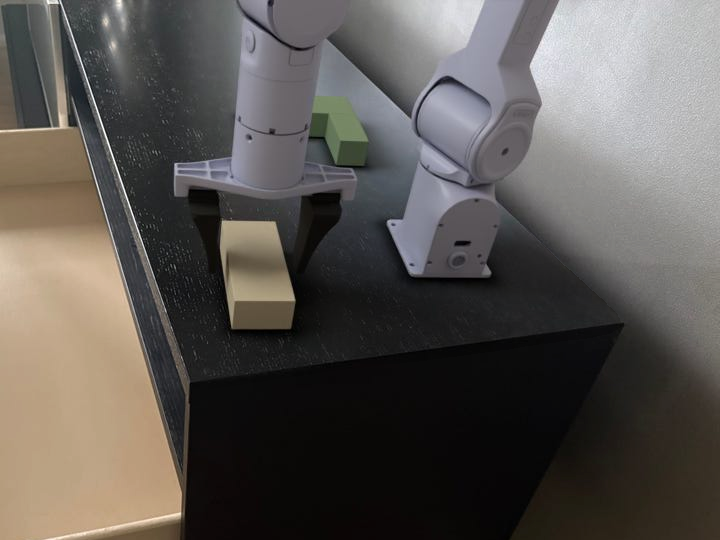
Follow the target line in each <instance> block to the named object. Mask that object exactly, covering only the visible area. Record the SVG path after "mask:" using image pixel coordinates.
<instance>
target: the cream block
mask: <svg viewBox="0 0 720 540" xmlns="http://www.w3.org/2000/svg"><path fill="white" fill-rule="evenodd" d="M220 227H221V230H220V241H219V249H220V250H219V251H220V259H221V265H222V273H223V280H224V285H225V293H226V300H227V306H228V312H229V319H230V325H231V330H291V329H292V326H293V318H294V313H295V306H296V298H295V293H294V289H293V286H292V281H291V277H290V274H289V269H288V266H287V262H286V258H285V254H284V249H283V246H282V242H281V238H280V235H279V230H278V227H277V222H276V221H267V220H265V221H263V220H262V221H261V220H260V221H259V220H221V226H220Z"/></svg>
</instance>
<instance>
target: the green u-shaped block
mask: <svg viewBox="0 0 720 540" xmlns="http://www.w3.org/2000/svg"><path fill="white" fill-rule="evenodd" d="M309 137H318V138H319V137H321V138H324V139H325V141H326V144H327V146H328V149H329V151H330V153H331V156H332V158H333V161H334V164H335V165H336V166H354V167H356V166H358V167H364V166H365V164H366V159H367V154H368V149H369V145H370V141H369V138H368V136H367V134H366V132H365V130H364V128H363V126H362V124H361V121H360V120H359V118H358V116H357V114H356V112H355V110H354V108H353V106H352V104H351V102H350V99H349V98H348V96H337V95H336V96H335V95H315V99H314V105H313V111H312V118H311V124H310V131H309Z"/></svg>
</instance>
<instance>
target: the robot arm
mask: <svg viewBox="0 0 720 540" xmlns="http://www.w3.org/2000/svg"><path fill="white" fill-rule="evenodd" d="M350 2H351V0H233V3H234V5H235V7H236V8H237V10H238V11H239V13H240V16H241V19H242V20H241V21H242V23H241V37H242V38H241V48H240V58H239V67H238V68H239V70H238V82H237V90H236V91H237V92H236V93H237V94H236V105H235V117H234V129H233V139H232V151H231V156H229V157H223V158H215V159H208V160H202V161H194V162H175V163H174V164H173V192H174V193H173V194H174V197H176V198H187V202H188V211H189V214H190V217H191V219H192V221H193V223H194V225H195V227H196V229H197V232H198V234H199V236H200V238H201V239H200V240H201V241H202V245H203V247H204V251H205V257H206V258H205V261H206V262H205V263H206V269H207V273H208V274H217V269H218V238H219V231H220V223H221V218H222V216H221V210H220V197H219V194H221V195H223V194H224V195H241V196H244V197H249V198H255V199H261V200H270V201H274V200H284V199H290V198H295V197H301V199H300V211H299V218H298V219H299V221H298V227H297V232H296V237H295V240H294V241H295V242H294V246H293V252H292V265H293V268H294V271H295V275H304V274H305V271H306V270H307V266H308V264H309V262H310V260H311V258H312V257H313V254H314V253H315V251H316V249H317V248H318V246H319V245H320V243H321V242H322V240H324V238H325V237H326V236H327V235H328V234H329V233H330V231H331V230H332V229H333V228H335V226H336V225H338V223H339V222H340V221H341V217H342V214H343V207H342V206H341V205H342V204H341V201H342V202H354V200H355V197H356V191H357V186H358V181H359V180H358V178H357V175H356V173H355V171H354V168H351V167H339V166H338V167H337V166H333V165H332V166H331V165H325V164H321V163H316V162H311V161H306V156H307V148H308V143H309V137H310V136H309V131H310V124H311V118H312V111H313V105H314V99H315V96H316V92H317V86H318V81H319V80H318V79H319V72H320V66H321V60H322V53H323V47H324V41H326V39H327V38H329V36H331V35H332V34H333V33H335V32H336V31H338V30H339V29H340V28H341V25H342V24H343V22H344V20H345V18H346V16H347V13H348V10H349V6H350ZM559 2H560V0H484V2H483V4H482V5H481V6H482V7H481V9H480V12H479V14H478V17H477V19H476V22H475V24H474V26H473V30H472V32H471V34H470V36H469V40H468V42H467V44H466V46H465V47H463V48H462V49H460V50H457V51H455V52H453V53H451V54H449V55H447V56H444V57H443V58H441V59H440V60H439V61H438V64H437V67H436V69H435V71H434V74H433V76H432V77H431V79H430V81H429V82H428V83H427V85H426V86H425V87H424V89H422V91H421V92H420V94H419V95H418V97H417V99H416V101H415V102H414V106H413V108H412V112H411V119H410V120H411V121H410V122H411V123H410V125H411V129H412V130H413V132H414V134H415V135H416V136H417V138H418V141H417V146H416V151H418V152H419V158H418V161H417V165H416V169H415V172H414V177H413V180H412V184H411V187H410V191H409V195H408V198H407V202H406V206H405V210H404V214H403V218H402V219H389V220H386V221H387V222H386V227H387V228H388V231H389V233H390V235H391V236H392V240H393V242H394V244H395V246H396V248H397V250H398V253H399V255H400V257H401V259H402V263H403V264H404V266H405V268H406V270H407V272H408V274H409V276H410V277H413V278H451V279H452V278H460V279H461V278H463V279H465V278H467V279H468V278H469V279H474V278H476V279H488V278H490V277H491V275H492V271H491V269H490V268H489V266H488V265H487V261H488V259H489V256H490V254H491V251H492V248H493V245H494V243H495V240H496V236H497V234H498V230H499V229H500V226H501V220H502V215H501V211H500V208H499V204H498V203H497V199H496V193H495V192H496V184H497V182H499V181H502V180H504V179H505V178H506V177H507V176H509V175H510V174H511V173H513V172H514V171H515V170H516V169H517V168H518V167H519V165H520V166H521V164H522V162H523V161H524V159H525V158H526V157H527V154H528V152H529V149H530V147H531V145H532V140H533V133H534V126H535V123H536V119H537V117H538V114H539V112H540V110H541V108H542V105H543V101H542V98H541V95H540V92H539V89H538V87H537V84H536V81H535V79H534V76H533V73H532V70H531V64H532V61H533V59H534V58H535V55H536V53H537V50H538V48H539V46H540V44H541V42H542V39H543V37H544V36H545V33H546V31H547V29H548V26H549V25H550V22H551V20H552V18H553V15H554V13H555V11H556V9H557V7H558V5H559Z"/></svg>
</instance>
